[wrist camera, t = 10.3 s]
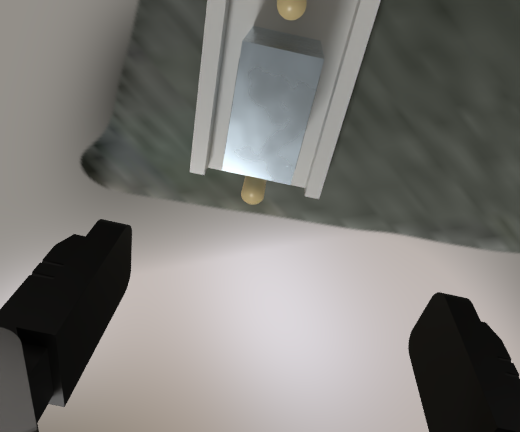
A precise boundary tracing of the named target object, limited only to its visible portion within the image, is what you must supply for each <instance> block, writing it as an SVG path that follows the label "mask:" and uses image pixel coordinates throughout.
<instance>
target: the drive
mask: <svg viewBox="0 0 520 432" xmlns="http://www.w3.org/2000/svg"><path fill="white" fill-rule="evenodd" d="M323 62H324V55H323V50H322V45H321V41H319V40H315V39H310V38H306V37H301V36H297V35H292V34H288V33H284V32H279V31H275V30H270V29H266V28H261V27H257V26H253V27H252V28H251V30H250V31H249V32H248V34H247V35H246V37H245V38H244V39H243V41H242V47H241V53H240V58H239V63H238V70H237V76H236V82H235V89H234V95H233V101H232V108H231V114H230V120H229V127H228V133H227V139H226V146H225V152H224V154H225V155H224V161H223V167H222V170H223V171H228V172H232V173H237V174H242V175H246V176H251V177H256V178H260V179H265V180H270V181H274V182H279V183H284V184H288V185H291V182H292V178H293V175H294V171H295V169H296V165H297V161H298V157H299V154H300V150H301V146H302V142H303V139H304V135H305V131H306V128H307V124H308V120H309V116H310V113H311V109H312V105H313V101H314V98H315V94H316V90H317V86H318V83H319V79H320V74H321V70H322V66H323Z"/></svg>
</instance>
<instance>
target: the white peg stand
mask: <svg viewBox="0 0 520 432" xmlns="http://www.w3.org/2000/svg"><path fill="white" fill-rule="evenodd" d="M380 1H381V0H207V9H206V19H205V29H204V38H203V48H202V58H201V67H200V77H199V87H198V96H197V106H196V116H195V125H194V135H193V145H192V154H191V164H190V172H192V173H196V174H201V175H204V174H205V172H206V170H207V168H213V169H217V170H222V167H223V161H224V155H225V154H224V152H225V146H226V139H227V133H228V127H229V120H230V114H231V108H232V101H233V95H234V89H235V82H236V76H237V70H238V63H239V58H240V53H241V47H242V41H243V39H244V38H245V37H246V35H247V34H248V32H249V31H250V30H251V28H252V27H253V26H257V27H261V28H266V29H270V30H275V31H279V32H284V33H288V34H292V35H297V36H301V37H306V38H310V39H315V40H319V41H321V45H322V50H323V55H324V62H323V66H322V70H321V74H320V79H319V83H318V86H317V90H316V94H315V98H314V101H313V105H312V109H311V113H310V116H309V120H308V124H307V128H306V131H305V135H304V139H303V142H302V146H301V150H300V154H299V157H298V161H297V165H296V169H295V171H294V175H293V178H292V182H291V185H294V186H298V187H303V188H305V196H306V197H311V198H316V199H319V197H320V194H321V191H322V187H323V184H324V181H325V178H326V174H327V171H328V168H329V165H330V162H331V158H332V155H333V152H334V149H335V146H336V142H337V139H338V136H339V133H340V129H341V126H342V123H343V120H344V117H345V113H346V110H347V107H348V104H349V101H350V97H351V94H352V91H353V88H354V84H355V81H356V78H357V75H358V72H359V68H360V65H361V62H362V59H363V56H364V52H365V49H366V46H367V43H368V39H369V36H370V33H371V30H372V27H373V23H374V20H375V17H376V14H377V10H378V7H379V4H380ZM222 171H223V170H222ZM227 172H228V171H227ZM236 174H237V173H236ZM241 175H242V174H241ZM265 186H266V180H265V179H260V178H256V177H251V176H245V180H244V184H243V188H242V192H241V196H242V199H243V200H244V201H245V202H246V203H249V204H258V203H260V202H261V201H262V200H263V198H264V192H265Z"/></svg>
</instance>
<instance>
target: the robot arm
mask: <svg viewBox="0 0 520 432" xmlns="http://www.w3.org/2000/svg"><path fill="white" fill-rule="evenodd" d="M131 245H132V229H131V226H130V225H126V224H121V223H117V222H112V221H107V220H103V219H100V220H99V221H97V223H96V224H95V225H94V226H93V228H92V229H91V230H90V232H89V233H88V234H87V236H86V237H85V236H80V235H76V234H74V235H72V236H70V237H69V238H67V239H65V240H63V241H61V242H60V243H58V244H56V245H55V246H54V247H53V248H52V249H51V251H50V252H49V253H48V254H47V255H46V256H45V258H44V259H43V261H42V263H39V265H38V266H37V267H36V268H35V269H34V271H33V272H32V275H29V276H28V278H27V279H26V280H25V281H24V283H22V285H21V286H20V287H19V288H18V289H17V290H16V292H15V293H14V294H13V295H12V296H11V297H10V299H9V300H8V301H7V302H6V303H5V304H4V306H3V307H2V308H1V309H0V432H39V430H38V425H37V423H38V421H39V419H40V417H41V415H42V414H43V412H44V410H45V409H46V407H47V405H48V404H52V405H58V406H62V407H65V405H66V403H67V401H68V399H69V398H70V396H71V394H72V392H73V390H74V388H75V386H76V384H77V382H78V381H79V379H80V377H81V375H82V373H83V371H84V369H85V367H86V365H87V364H88V362H89V359H90V358H91V356H92V354H93V352H94V350H95V348H96V347H97V345H98V343H99V341H100V339H101V337H102V335H103V333H104V331H105V329H106V328H107V325H108V323H109V322H110V320H111V318H112V316H113V314H114V312H115V311H116V308H117V307H118V305H119V303H120V301H121V299H122V297H123V295H124V293H125V291H126V289H127V286H128V282H129V279H130V273H131ZM409 355H410V359H411V363H412V366H413V371H414V375H415V379H416V383H417V386H418V390H419V394H420V398H421V402H422V406H423V409H424V413H425V417H426V421H427V425H428V429H429V432H520V379H519V373H518V372H517V370H516V368H515V366H514V364H513V363H511V358H510V356H509V354H508V352H507V350H506V348H505V346H504V344H503V342H502V340H501V339H500V338H499V337H498V336H497V335H496V333H495V332H494V331H493V330H492V329H491V328H490V327H489V326H488V325H487V324H486V323H485V322H481V321H480V319H479V317H478V315H477V312H476V310H475V308H474V306H473V304H472V303H471V301H470V300H469V299H467V298H463V297H458V296H453V295H449V294H444V293H436V294H434V295H433V296H432V298H431V300H430V301H429V303H428V305H427V307H426V308H425V310H424V311H423V313H422V315H421V316H420V318H419V320H418V321H417V323H416V325H415V326H414V328H413V330H412V332H411V334H410V338H409Z"/></svg>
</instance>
